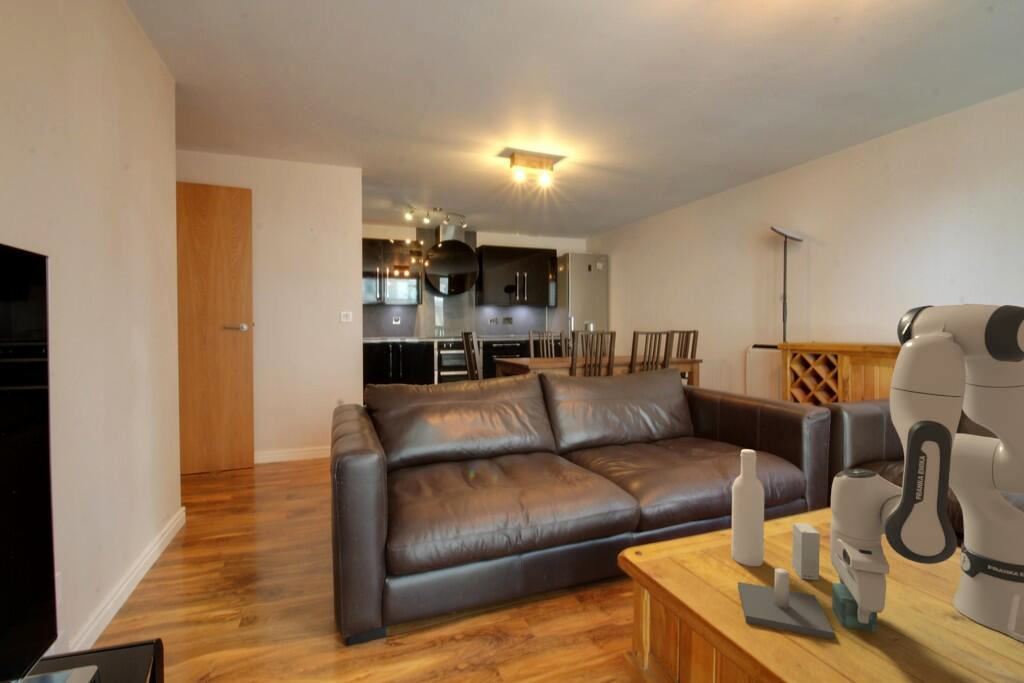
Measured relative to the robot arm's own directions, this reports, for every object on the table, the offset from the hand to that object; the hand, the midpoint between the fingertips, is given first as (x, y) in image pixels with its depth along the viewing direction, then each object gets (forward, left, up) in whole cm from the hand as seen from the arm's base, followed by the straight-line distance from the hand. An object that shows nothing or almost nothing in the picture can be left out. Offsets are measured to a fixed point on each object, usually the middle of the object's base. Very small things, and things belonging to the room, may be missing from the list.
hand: (853, 608), depth 99 cm
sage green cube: (0, 0, -3) cm, 3 cm away
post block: (+14, +2, -3) cm, 14 cm away
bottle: (+18, -21, -3) cm, 28 cm away
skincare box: (+5, -18, -3) cm, 19 cm away
